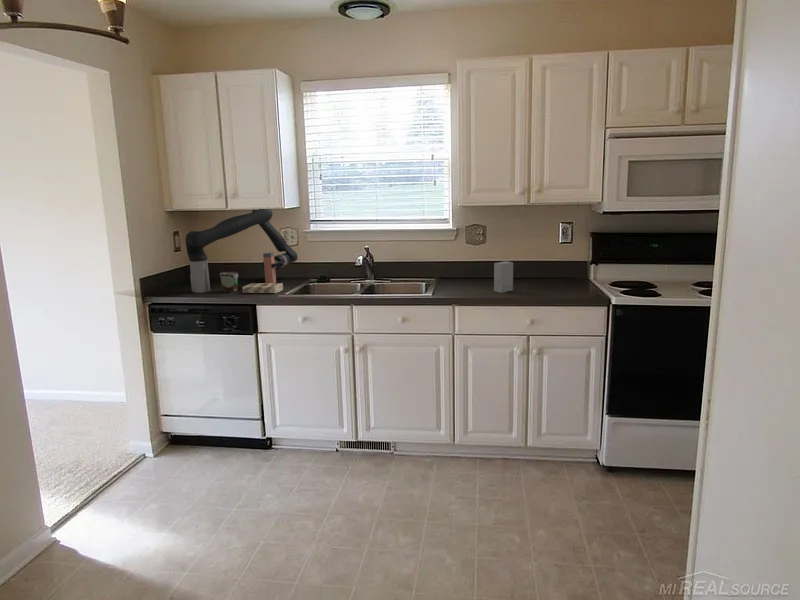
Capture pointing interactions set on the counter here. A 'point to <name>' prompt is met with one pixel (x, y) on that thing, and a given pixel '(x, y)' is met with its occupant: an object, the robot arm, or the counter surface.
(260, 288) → the beige rectangular block
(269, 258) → the pink tall block
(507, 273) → the skincare box
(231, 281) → the food container
